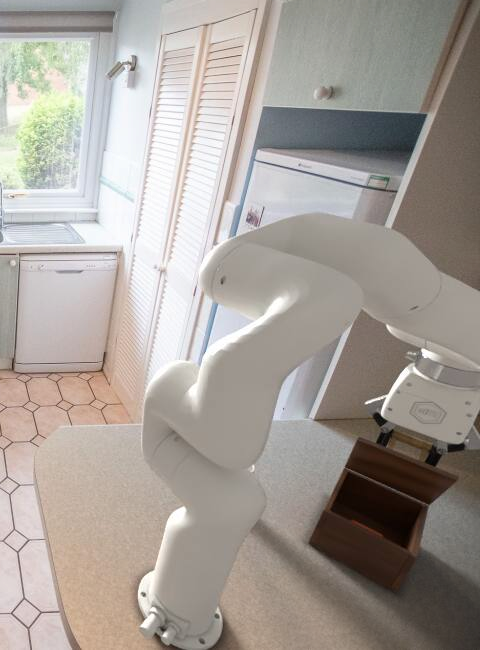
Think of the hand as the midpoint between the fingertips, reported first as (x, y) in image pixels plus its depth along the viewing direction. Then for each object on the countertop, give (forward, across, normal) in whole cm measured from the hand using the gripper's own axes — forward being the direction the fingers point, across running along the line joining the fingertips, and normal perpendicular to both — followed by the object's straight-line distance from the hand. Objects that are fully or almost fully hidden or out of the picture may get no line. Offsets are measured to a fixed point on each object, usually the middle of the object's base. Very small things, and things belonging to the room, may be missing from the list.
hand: (403, 456), depth 79 cm
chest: (+20, 0, -3) cm, 20 cm away
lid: (+4, 0, 0) cm, 4 cm away
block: (+19, 0, -7) cm, 20 cm away
